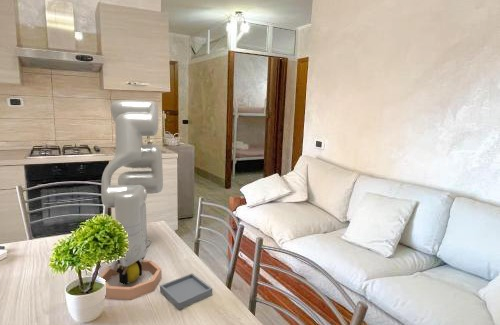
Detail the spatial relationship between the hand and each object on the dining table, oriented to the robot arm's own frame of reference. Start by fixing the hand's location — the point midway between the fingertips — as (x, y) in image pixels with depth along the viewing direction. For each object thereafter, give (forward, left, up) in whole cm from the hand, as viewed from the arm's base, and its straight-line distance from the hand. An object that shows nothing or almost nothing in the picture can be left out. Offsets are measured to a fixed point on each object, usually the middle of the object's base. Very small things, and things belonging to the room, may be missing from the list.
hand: (131, 278), depth 110 cm
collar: (0, 0, -1) cm, 1 cm away
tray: (+17, +11, -1) cm, 20 cm away
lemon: (0, 0, -2) cm, 2 cm away
